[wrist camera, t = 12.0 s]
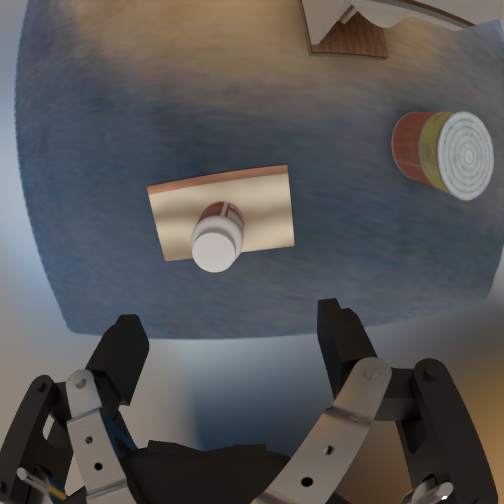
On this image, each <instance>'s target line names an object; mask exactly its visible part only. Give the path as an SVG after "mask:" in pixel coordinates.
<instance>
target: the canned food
mask: <svg viewBox="0 0 504 504" xmlns="http://www.w3.org/2000/svg"><path fill="white" fill-rule="evenodd" d="M391 147H392V154H393V157H394V160H395V162H396V164H397V166H398V168H399V169H400V170H401V172H402V173H403V174H404V175H406V176H407V177H408V178H410V179H413V180H416V181H419V182H422V183H425V184H427V185H430V186H432V187H435V188H437V189H439V190H442V191H444V192H446V193H449V194H451V195H453V196H455V197H456V198H458V199H461V200H472V199H475V198H477V197H478V196H479V195H481V194H482V193H483V191H484V190H485V189H486V187H487V185H488V184H489V181H490V179H491V176H492V172H493V166H494V151H493V145H492V141H491V138H490V135H489V133H488V131H487V129H486V127H485V125H484V124H483V123H482V121H481V120H480V119H479V118H478V117H476V116H475V115H473V114H472V113H469V112H465V111H460V112H410V113H407V114H405V115H404V116H402V117H401V118H400V119H399V120H398V122H397V123H396V125H395V127H394V130H393V133H392V139H391Z"/></svg>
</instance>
